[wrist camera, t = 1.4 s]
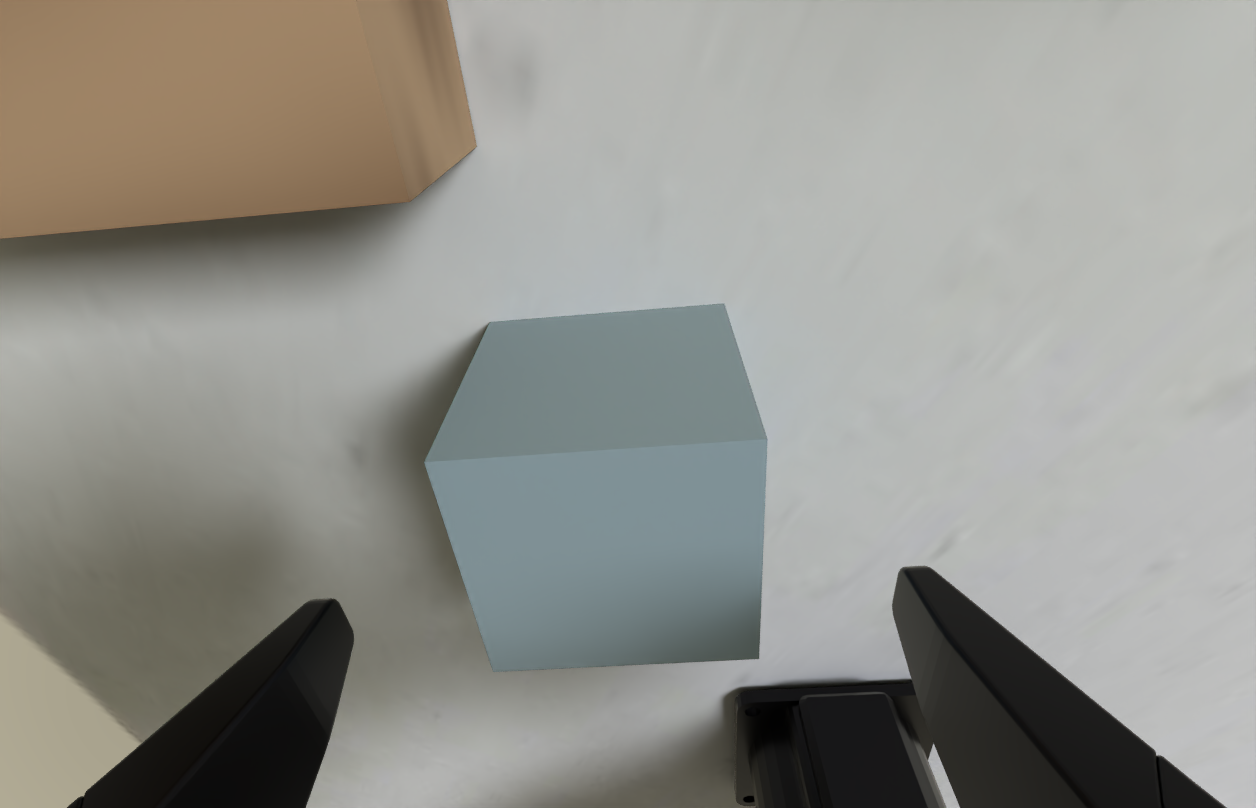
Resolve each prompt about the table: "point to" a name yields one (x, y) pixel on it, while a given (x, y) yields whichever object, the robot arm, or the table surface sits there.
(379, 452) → the table surface
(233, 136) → the walnut block
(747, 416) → the slate block
